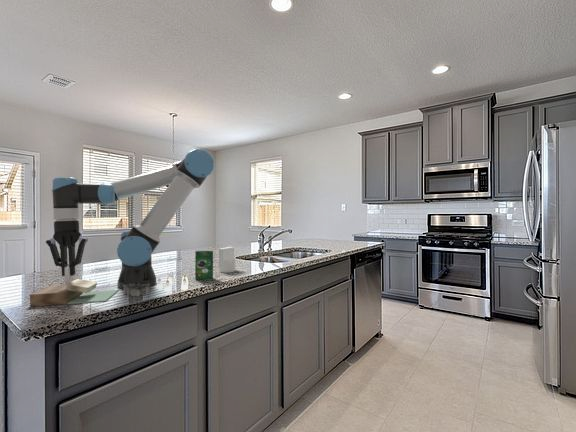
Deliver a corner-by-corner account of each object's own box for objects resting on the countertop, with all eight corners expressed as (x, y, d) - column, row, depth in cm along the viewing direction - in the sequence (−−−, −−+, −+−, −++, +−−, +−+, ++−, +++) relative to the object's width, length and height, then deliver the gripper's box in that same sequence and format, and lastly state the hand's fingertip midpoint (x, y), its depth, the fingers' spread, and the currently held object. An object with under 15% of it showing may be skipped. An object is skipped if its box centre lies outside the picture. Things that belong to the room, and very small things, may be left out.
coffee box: (213, 277, 149) (212, 249, 149) (213, 278, 147) (213, 250, 146) (195, 279, 147) (194, 250, 147) (195, 280, 144) (194, 251, 144)
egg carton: (152, 294, 122) (151, 283, 122) (131, 298, 117) (131, 287, 117) (141, 289, 130) (140, 279, 129) (121, 292, 124) (121, 282, 124)
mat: (118, 290, 127) (118, 289, 127) (106, 301, 112) (106, 300, 112) (85, 292, 125) (85, 291, 125) (67, 304, 109) (67, 303, 109)
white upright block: (227, 273, 160) (226, 249, 159) (214, 271, 164) (213, 248, 164) (239, 270, 167) (238, 247, 167) (226, 268, 172) (225, 246, 172)
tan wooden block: (83, 293, 123) (82, 283, 123) (67, 303, 110) (66, 292, 110) (50, 295, 121) (50, 285, 121) (30, 306, 107) (29, 294, 107)
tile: (95, 287, 122) (97, 282, 122) (86, 293, 113) (88, 287, 114) (76, 284, 121) (77, 278, 121) (65, 289, 112) (66, 284, 112)
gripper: (90, 219, 121) (92, 280, 121) (51, 220, 118) (53, 283, 118) (82, 219, 113) (85, 285, 114) (40, 221, 110) (43, 288, 111)
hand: (69, 284), depth 116 cm, fingers closed
